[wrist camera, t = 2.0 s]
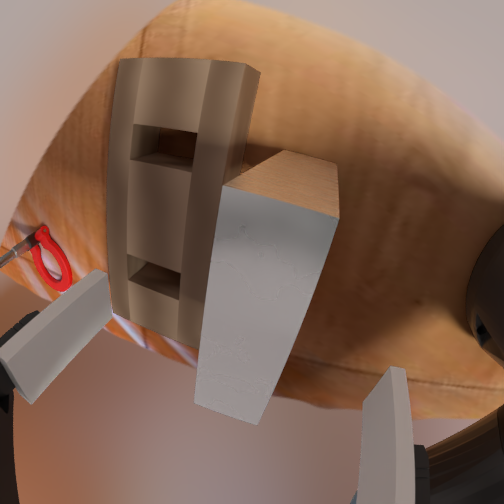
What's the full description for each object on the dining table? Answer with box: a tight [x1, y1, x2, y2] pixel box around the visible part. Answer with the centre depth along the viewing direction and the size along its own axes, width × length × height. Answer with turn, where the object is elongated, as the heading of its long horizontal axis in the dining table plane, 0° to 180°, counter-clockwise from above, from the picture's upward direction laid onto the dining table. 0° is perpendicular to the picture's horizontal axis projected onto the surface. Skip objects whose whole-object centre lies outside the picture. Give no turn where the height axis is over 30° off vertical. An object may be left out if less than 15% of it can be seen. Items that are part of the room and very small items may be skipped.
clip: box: [194, 150, 339, 425], centre depth 18 cm, size 4×13×13 cm, turn 168°
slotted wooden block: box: [107, 58, 261, 350], centre depth 24 cm, size 10×24×4 cm, turn 168°
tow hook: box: [0, 226, 72, 292], centre depth 29 cm, size 8×13×9 cm
